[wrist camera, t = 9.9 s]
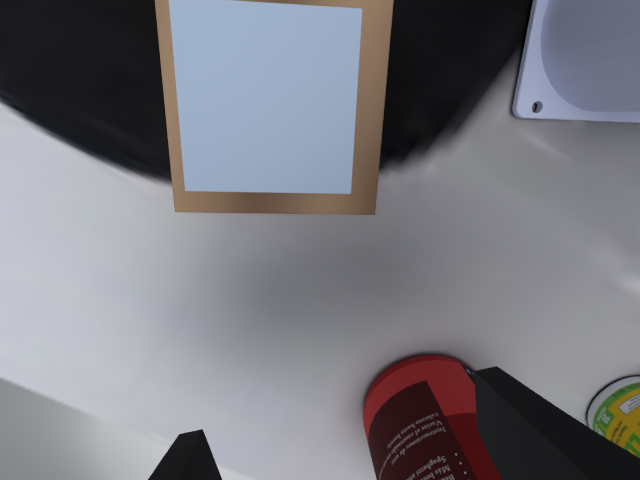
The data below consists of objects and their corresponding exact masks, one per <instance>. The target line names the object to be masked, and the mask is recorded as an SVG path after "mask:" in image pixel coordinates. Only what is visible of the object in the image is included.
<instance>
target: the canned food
mask: <svg viewBox="0 0 640 480" xmlns="http://www.w3.org/2000/svg"><path fill="white" fill-rule="evenodd" d="M363 421H364V429H365V433H366V437H367V441H368V445H369V449H370V454H371V458H372V462H373V466H374V470H375V474H376V479H377V480H502V478H501V476H500V475H499V473H498V471H497V470H496V468H495V466H494V464H493V462H492V460H491V458H490V456H489V454H488V452H487V450H486V448H485V445H484V443H483V441H482V439H481V437H480V435H479V433H478V431H477V416H476V398H475V379H474V370H472V369H471V368H469V367H468V366H466V365H465V364H463V363H462V362H460V361H458V360H455V359H453V358H450V357H446V356H441V355H423V356H416V357H412V358H409V359H405V360H403V361H401V362H399V363H397V364H394V365H393V366H391V367H390V368H388V369H387V370H385V371H384V372H383V373H382V374H381V375H380V376H379V377H378V378H377V379H376V380H375V381H374V383H373V384H372V386H371V387H370V389H369V391H368V393H367V396H366V400H365V406H364V413H363Z"/></svg>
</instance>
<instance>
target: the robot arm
mask: <svg viewBox="0 0 640 480" xmlns="http://www.w3.org/2000/svg"><path fill="white" fill-rule="evenodd" d="M535 102H536V104H537V109H536V111H535V112H533V111H532V106H533V104H534V103H535ZM513 113H514V115H515V116H516V117H518V118H531V119H557V120H583V121H608V122H634V123H640V0H533V3H532V8H531V13H530V19H529V24H528V29H527V34H526V39H525V45H524V50H523V55H522V60H521V65H520V71H519V76H518V81H517V86H516V91H515V97H514V102H513ZM474 379H475V398H476V416H477V431H478V433H479V435H480V437H481V439H482V441H483V443H484V445H485V448H486V450H487V452H488V454H489V456H490V458H491V460H492V462H493V464H494V466H495V468H496V470H497V471H498V473H499V475H500V476H501V478H502V480H640V458H639V457H637V456H636V455H634V454H632V453H630V452H629V451H627V450H625V449H624V448H622V447H620V446H618V445H617V444H615V443H613V442H612V441H610V440H608V439H607V438H605V437H603V436H602V435H600V434H598V433H597V432H595V431H594V430H592V429H590V428H589V427H587V426H586V425H584V424H582V423H581V422H579V421H578V420H576V419H575V418H573V417H572V416H570V415H568V414H567V413H565V412H564V411H562V410H561V409H559V408H558V407H556V406H555V405H553V404H552V403H550V402H549V401H547V400H546V399H544V398H543V397H541V396H540V395H538V394H537V393H535V392H534V391H532V390H531V389H529V388H528V387H526V386H525V385H523V384H522V383H521V382H519V381H518V380H516V379H515V378H513V377H512V376H510V375H509V374H507V373H506V372H504V371H503V370H501V369H500V368H498V367H497V366H496V367H492V368H487V369H482V370H478V371H474ZM148 480H222V478H221V476H220V473H219V470H218V468H217V465H216V463H215V460H214V458H213V455H212V452H211V450H210V447H209V445H208V442H207V439H206V437H205V434H204V432H203V429H202V430H197V431H192V432H188V433H183V434H179V436H178V437H177V438H176V440H175V441H174V443H173V444H172V445H171V447H170V448H169V450H168V451H167V453H166V454H165V456H164V457H163V458H162V460H161V461H160V463H159V464H158V466H157V467H156V469H155V470H154V472H153V473H152V475H151V476H150V478H149V479H148Z"/></svg>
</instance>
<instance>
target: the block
mask: <svg viewBox="0 0 640 480" xmlns="http://www.w3.org/2000/svg"><path fill="white" fill-rule="evenodd" d="M169 9H170V21H171V33H172V44H173V56H174V68H175V79H176V91H177V103H178V114H179V126H180V138H181V149H182V161H183V173H184V184H185V191H210V192H271V193H331V194H351V183H352V167H353V151H354V135H355V119H356V103H357V86H358V70H359V54H360V38H361V22H362V9H360V8H345V7H329V6H313V5H297V4H281V3H265V2H250V1H234V0H169Z"/></svg>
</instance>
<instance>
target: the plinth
mask: <svg viewBox="0 0 640 480" xmlns="http://www.w3.org/2000/svg"><path fill="white" fill-rule="evenodd" d="M234 1H250V2H265V3H281V4H297V5H313V6H329V7H345V8H360V9H362V22H361V38H360V54H359V70H358V86H357V103H356V119H355V135H354V151H353V167H352V183H351V194H331V193H271V192H210V191H185V184H184V173H183V161H182V149H181V138H180V126H179V114H178V103H177V91H176V79H175V68H174V56H173V44H172V33H171V21H170V9H169V0H155V6H156V17H157V27H158V38H159V49H160V59H161V70H162V80H163V91H164V101H165V112H166V123H167V133H168V144H169V154H170V165H171V175H172V186H173V197H174V207H175V212H205V213H280V214H356V215H375V207H376V195H377V184H378V172H379V161H380V149H381V138H382V126H383V114H384V103H385V91H386V80H387V68H388V57H389V45H390V33H391V22H392V10H393V0H234Z"/></svg>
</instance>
